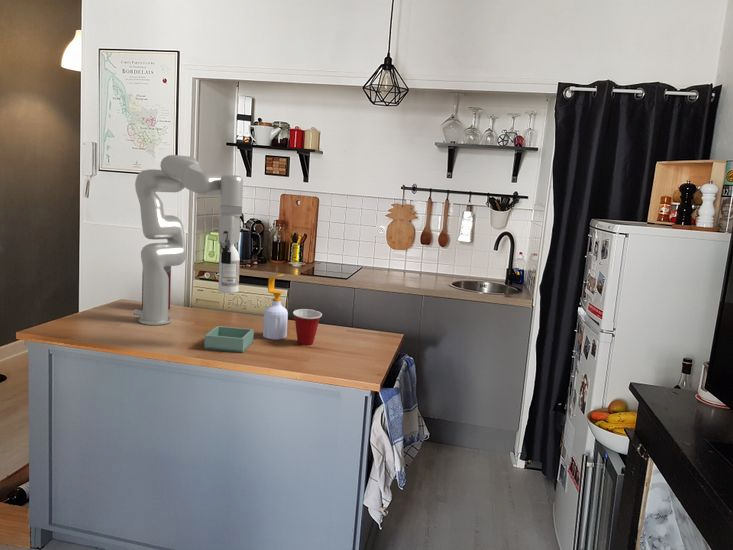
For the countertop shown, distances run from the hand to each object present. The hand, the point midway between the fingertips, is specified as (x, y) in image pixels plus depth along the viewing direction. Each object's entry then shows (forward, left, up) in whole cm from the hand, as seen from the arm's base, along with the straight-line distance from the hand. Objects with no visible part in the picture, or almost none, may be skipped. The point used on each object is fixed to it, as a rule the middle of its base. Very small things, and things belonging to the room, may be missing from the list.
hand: (229, 261), depth 204 cm
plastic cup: (+27, +12, -31) cm, 42 cm away
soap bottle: (+14, +17, -31) cm, 37 cm away
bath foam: (0, 0, -11) cm, 11 cm away
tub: (+1, 0, -30) cm, 30 cm away
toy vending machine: (-44, +43, -31) cm, 68 cm away
